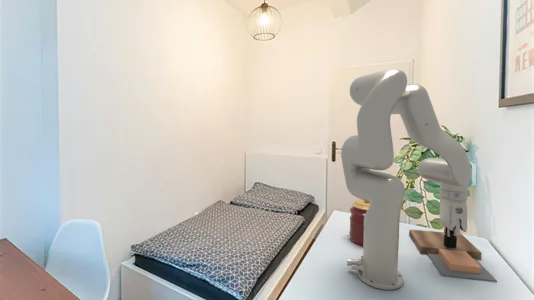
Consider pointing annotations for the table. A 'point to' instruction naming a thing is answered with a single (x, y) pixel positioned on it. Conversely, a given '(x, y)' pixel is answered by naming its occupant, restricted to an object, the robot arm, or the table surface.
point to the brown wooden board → (441, 243)
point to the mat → (458, 274)
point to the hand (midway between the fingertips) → (449, 246)
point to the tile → (459, 261)
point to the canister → (358, 220)
